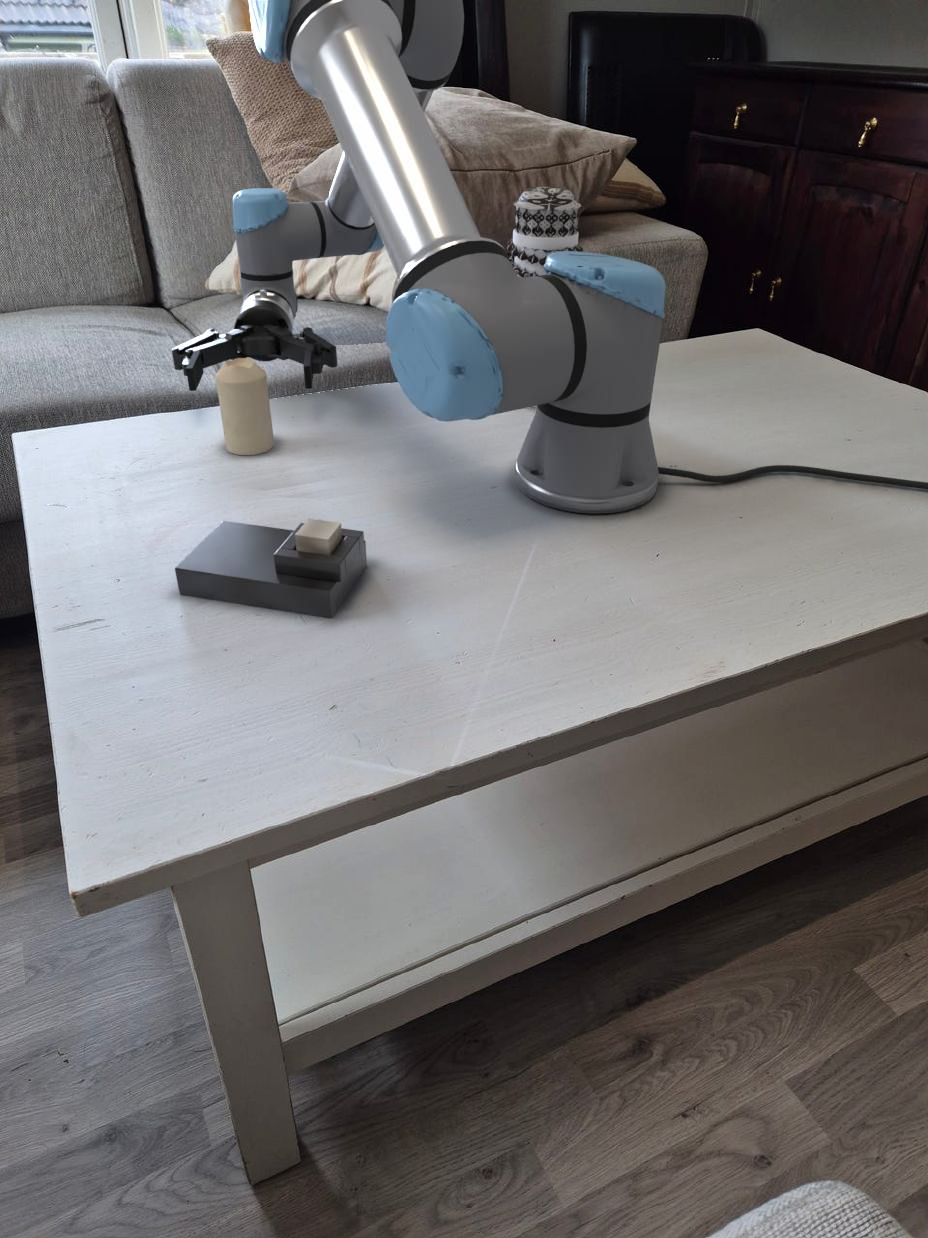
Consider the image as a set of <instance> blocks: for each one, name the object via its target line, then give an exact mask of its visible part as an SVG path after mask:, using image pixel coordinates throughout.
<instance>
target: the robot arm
mask: <svg viewBox="0 0 928 1238" xmlns="http://www.w3.org/2000/svg"><path fill="white" fill-rule="evenodd" d="M248 6H249V16H250V17H249V18H250V24H251V32H252V36H253V40H254V44H255V47H256V49H257V51H258V53H259V56H260V57H262V58H263V59H264V60H266V61H271V62H274V64H279V63H280V62H287V63H288V65H289V67H290V70H291V72H292V74H293V77H294V79H295V80H296V82H297V84H298V85H299V87H300V88H301V89H302V90H303V92H305V93H307V94H308V95H309V96H311V97H313V98H316V99H318V100H320V101H321V104H322V105H323V107H324V110H325V112H326V115H327V117H328V119H329V121H330V123H331V126H332V129H333V131H334V133H335V136H336V138H337V141H338V142H339V145H340V147H341V149H342V154H341V157H340V160H339V162H338V166H337V169H336V172H335V175H334V178H333V181H332V184H331V187H330V190H329V193H328V195H327V197H326V199H325V200H317V201H316V200H315V201H303V202H288V198H287V195H286V193H285V192H284V191H283V190H281V189H277V188H269V187H268V188H267V187H266V188H265V187H264V188H261V187H260V188H259V187H256V188H246V189H242V190H239V191H237V192H235V194H234V195H233V197H232V219H233V231H234V236H235V237H234V238H235V244H236V251H237V258H238V266H239V274H240V275H239V277H240V287H241V296H242V305H241V307H240V310H239V313H238V314H237V317H236V320H235V322H234V326H233V329H232V330H231V331H229V332H226V333H225V334H220V333H219V331H218V329H217V328H213V327H212V328H209V329H207V330H206V331H205V332H204V333H202V334H201V335H199V336H196V337H194V338H192V339H190V340H188V341H186V342H183V343H181V344H179V345H177V346H174V347H173V348H171V355H172V361H173V367H174V370H177V371H182V372H183V376H184V377H186V378H187V383H188V384H187V385H188V389H189V390H188V391H189V392H196V391H197V389H198V387H199V385H200V383H201V380H202V377H203V376H204V369H207V368H209V367H212V366H216V365H218V364H222V363H225V361H233V360H234V359H236V358H250V359H251V360H253V361H257V362H265V363H267V362H272V361H275V360H281V361H287V360H289V361H294V362H295V363H298V364H301V365H303V374H304V377H303V378H304V388H305V389H306V390H307V389H312V388H313V381H314V375H320V374H323V369H324V366H327V367H328V368H333V369H334V368H337V367H338V353H337V346H336V345H335V344H332V343H331V342H330V341H328V340H327V339H325V338H323V337H321V336H320V335H318V334H317V333H315V332H314V331H313V328H312V327H309V326H307V327H304V328H302V330H300V331H299V333H294V334H293V328H294V322H295V320H296V319H295V318H296V317H297V313H298V310H299V309H298V308H299V306H298V305H299V303H298V296H297V295H298V294H297V293H296V290H295V282H294V269H293V268H294V267H293V264H294V263H293V262H294V261H305V260H313V259H321V258H322V259H323V258H334V257H345V256H362V255H365V254H368V253H373V252H379V251H381V250H382V249H383V248H385V251H386V253H387V255H388V257H389V260H390V263H391V264H392V267H393V270H394V272H395V273H396V276H397V278H398V280H397V282H396V284H395V286H394V288H393V291H392V297H391V302H392V304H391V305H390V308H389V310H388V313H387V315H386V316H387V317H386V322H385V339H386V346H387V348H389V350H390V353H391V354H390V355H389V361H390V364H391V368H392V371H393V373H394V376H395V378H396V380H397V382H398V384H399V386H400V388H401V390H402V392H403V393H404V395H405V396H406V398H407V399H408V400H409V401H410V403H411V404H412V405H413V406H414V407H415V408H416V409H417V410H418V411H419V412H420V413H422V414H423V415H425V416H427V417H428V418H431V419H434V420H437V421H439V422H444V423H445V422H450V423H451V422H455V421H462V420H463V421H464V420H470V421H479V420H483V419H485V418H487V417H489V416H494V415H498V414H503V413H507V412H508V413H509V412H513V411H517V410H522V409H527V408H532V406H536V405H537V407H535V408H536V410H535V413H534V416H533V418H532V420H531V422H530V423H531V424H530V426H529V428H528V430H527V434H526V436H525V438H524V441H523V443H522V446H521V447H520V448H521V449H520V451H519V453H518V456H517V459H516V461H515V474H514V475H515V478H514V480H515V484H516V486H517V488H518V489H519V490H520V491H521V492H522V493H523V494H524V495H525V496H527V497H528V498H530V499H531V500H533V501H534V502H537V503H539V504H541V505H544V506H546V507H549V508H553V509H556V510H559V511H560V510H561V511H565V512H570V513H578V514H579V513H580V514H597V515H598V514H612V513H613V514H614V513H620V512H625V511H630V510H632V509H635V508H638V507H641V506H642V505H644V504H646V503H648V502H649V501H650V500H651V499H652V498H653V497H654V496H655V494H656V491H657V490H658V489H657V487H658V481H659V475H665V476H671V477H672V476H673V477H678V478H686V479H691V480H696V481H699V482H705V483H713V484H714V483H717V484H718V483H719V484H720V483H730V482H736V481H740V480H745V479H748V478H751V477H754V476H758V475H762V474H768V473H769V474H771V473H797V474H799V473H800V474H807V475H808V474H809V475H815V476H821V477H829V478H835V479H840V480H841V479H842V480H850V481H857V482H865V483H872V484H873V483H874V484H881V485H889V486H897V487H905V488H912V489H920V490H928V482H927V481H919V480H911V479H903V478H895V477H887V476H879V475H873V474H872V475H871V474H864V473H854V472H847V471H840V470H835V469H834V470H833V469H828V468H826V469H825V468H822V467H821V468H820V467H813V466H806V465H805V466H804V465H791V464H775V465H774V464H773V465H765V466H760V467H755V468H752V469H748V470H745V471H741V472H737V473H732V474H724V475H711V474H704V473H700V472H695V471H690V470H685V469H677V468H672V467H671V468H669V467H664V466H659V465H658V460H657V455H656V450H655V445H654V439H653V434H652V430H651V424H650V411H651V405H652V399H653V391H654V383H655V377H656V370H657V365H658V364H657V363H658V357H659V352H660V346H661V345H660V344H661V339H662V331H663V325H664V320H665V319H666V313H665V310H664V309H665V301H666V299H665V298H666V289H667V286H666V281H665V278H664V276H663V274H662V273H661V272H660V271H659V270H658V269H656V268H655V267H652V266H651V265H648V264H645V263H644V262H643V263H642V262H640V261H636V260H633V259H628V258H624V257H620V256H614V255H609V254H604V253H603V254H602V253H595V252H586V251H582V252H578V251H557V252H554V253H551V254H550V255H548V257H547V259H546V263H545V264H544V270H545V275H541V276H532V277H522V278H521V277H519V276H518V275H517V274H516V272H515V270H514V268H513V266H512V264H511V261H510V259H509V258H510V257H509V255H508V253H507V250H505V248H504V246H503V245H502V244H501V243H499V242H498V241H497V240H494V239H492V238H487V237H482V236H481V234H480V232H479V230H478V228H477V226H476V223H475V221H474V219H473V217H472V215H471V213H470V210H469V208H468V206H467V204H466V202H465V199H464V197H463V195H462V193H461V191H460V188H459V187H458V185H457V182H456V180H455V178H454V176H453V174H452V171H451V169H450V167H449V164H448V163H447V160H446V158H445V156H444V153H443V151H442V149H441V147H440V145H439V142H438V141H437V138H436V137H435V134H434V132H433V129H432V128H431V126H430V123H429V121H428V119H427V117H426V115H425V111H426V109H427V108H428V105H429V102H430V100H431V98H432V96H433V93H434V92H435V91H437V90H439V89H440V88H443V86H445V85H446V84H447V82H448V80H449V79H450V77H451V74H452V72H453V69H454V68H455V66H456V63H457V60H458V57H459V54H460V51H461V47H462V44H463V36H464V29H465V27H464V26H465V11H464V3H463V0H248Z"/></svg>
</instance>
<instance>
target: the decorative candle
mask: <svg viewBox="0 0 928 1238" xmlns="http://www.w3.org/2000/svg"><path fill="white" fill-rule="evenodd" d="M512 204H513V206H515V209H516V211H515V215H514V222H515V226H514V229H512V230H513V231H512V237H511V239H509V240H508V241H507V243H506V245H507V247H506V249H507V251H508V252H510V254H511V255H510V257H509V259H510V261H511V264H512V266H513V268H514V270H515V272H516V274H517V275H518V276H519V277H521V278H522V277H532V276H541V275H545V270H544V264H545V263H546V259H547V257H548V255H550V254H551V253H554V252H557V251H578V252H584V249H583V247H582V246H581V245H580V243H579V235H580V234H579V233H580V232H579V231H578V226H579V217H580V216H579V215H580V213H579V212H580V207H582V204H581V203H579V202H577V200H576V197H575V195H574V194H573V192H571V191H570V190H569V189H567V188H563V187H554V186H535V187H534V186H533V187H528V188H527V189H525V190H524V191H523V192H522V193H521V195H520V197H518V199H517V200H515V201H514V202H512ZM532 407H533V408H537V405H536V406H532ZM532 407H531V408H532Z"/></svg>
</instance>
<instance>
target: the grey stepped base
mask: <svg viewBox="0 0 928 1238" xmlns="http://www.w3.org/2000/svg"><path fill="white" fill-rule="evenodd" d="M305 523H306V522H300V523H299V524H298V525H297V526H296V528H295V529H287V528H278V527H272V526H264V525H258V524H250V523H245V522H236V521H230V520H222V521H221V522H220V523H219V524H218V525H217V526H216V527H215V528H213V530H212V531H211V532H209V534H208V535H207V536H206V537H205V538H204V539H203V540H201V542H200V543H198V544H197V546H195V548H194V549H192V551H190V553H189V554H188V555H186V556H185V558H183V559H182V561H180V562H179V563H178V564H177V565H176V566H175V568H174V572H175V577H176V582H177V587H178V593H179V595H181V596H186V597H193V598H198V599H206V600H212V601H219V602H224V603H230V604H237V605H243V606H250V607H255V608H262V609H267V610H268V609H269V610H275V611H280V612H281V611H282V612H287V613H294V614H301V615H305V616H307V615H308V616H313V617H318V618H325V619H333V617H334V616H335V614H336V613H337V611H338V610H339V608H340V607H341V605H342V604H343V602H344V600H345V599H346V598H347V596H348V594H349V593H350V591H351V590H352V588H353V587H354V586H355V584H356V583H357V582H358V580H359V578H360V577H361V576H362V574H363V572H364V571H365V569H366V567H368V563H367V562H368V561H367V543H366V540H365V531H364V530H357V529H349V528H343V527H341V529H342V542H341V543H340V545H339V546H338V547H337V549H336V550H335V551H334V553H333V554H332V555H331V556H330V555H323V554H316V553H309V552H302V551H297V548H296V539H295V534H296V533H297V532H298V531H299V530H300V528H301V527H302V526H303V525H304V524H305Z"/></svg>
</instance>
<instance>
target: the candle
mask: <svg viewBox="0 0 928 1238" xmlns="http://www.w3.org/2000/svg"><path fill="white" fill-rule="evenodd" d="M215 382H216V389H217V397H218V403H219V411H220V417H221V424H222V430H223V437H224V444H225V448H226V450H227V451H228V452H229V453H231V454H234V455H239V456H256V455H260V454H264V453H266V452H269V451H270V450H272V448H274V444H275V443H274V442H275V441H274V440H275V437H274V430H273V421H272V413H271V404H270V403H271V402H270V394H269V385H268V377H267V372H266V370H265V369H263V368H262V367H261V366H260V365H259V364H257V363H256V362H255V360H253V359H252V358H249V357H247V358H236V359H234V360H227V361H224V362H223V364H222V366H221V367H220V368H219V370H218V371H217V373H216V374H215Z"/></svg>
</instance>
